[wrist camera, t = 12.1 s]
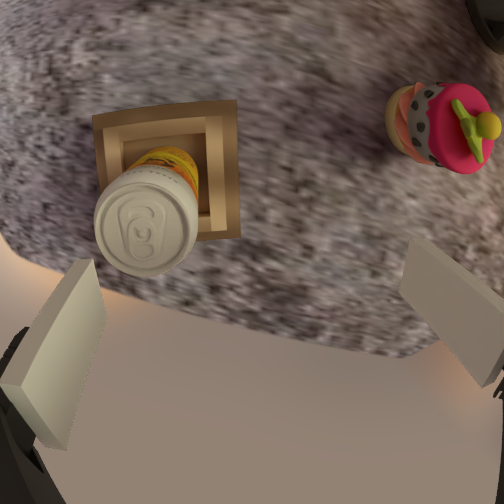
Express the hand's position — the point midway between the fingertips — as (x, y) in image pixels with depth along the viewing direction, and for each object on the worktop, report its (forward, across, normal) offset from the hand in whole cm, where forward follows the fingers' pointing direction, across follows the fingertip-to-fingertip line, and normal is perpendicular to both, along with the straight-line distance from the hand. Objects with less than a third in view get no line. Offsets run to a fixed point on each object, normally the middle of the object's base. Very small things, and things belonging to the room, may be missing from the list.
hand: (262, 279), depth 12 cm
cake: (+26, +25, +7) cm, 37 cm away
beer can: (+20, -6, 0) cm, 21 cm away
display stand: (+25, -6, 0) cm, 26 cm away
